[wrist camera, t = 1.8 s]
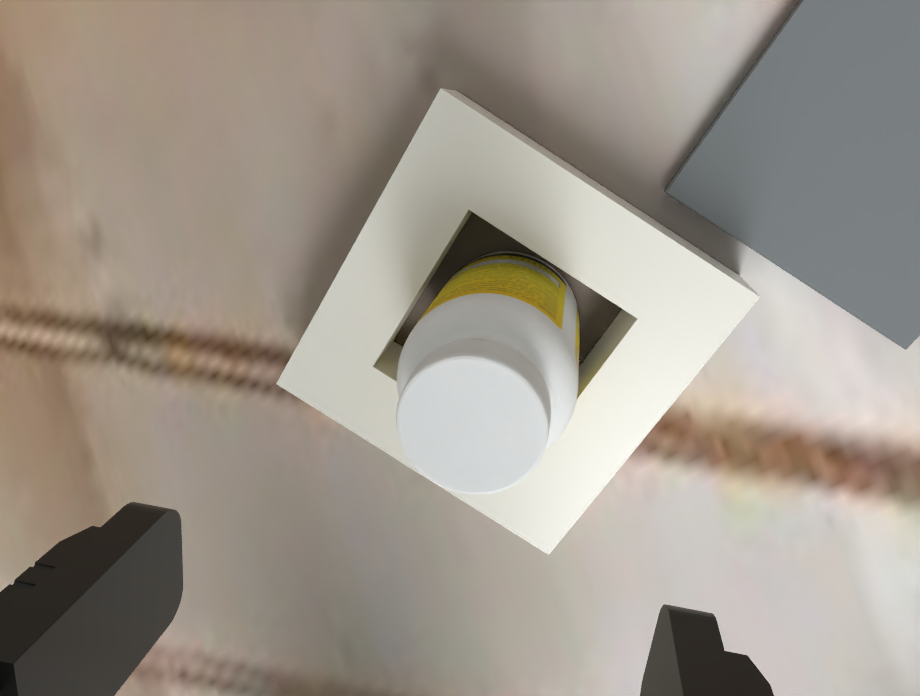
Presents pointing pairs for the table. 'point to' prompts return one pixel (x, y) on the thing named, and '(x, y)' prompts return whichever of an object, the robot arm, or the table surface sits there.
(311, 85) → the table surface
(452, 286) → the supplement bottle
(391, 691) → the table surface
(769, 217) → the rubber pad
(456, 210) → the frame
